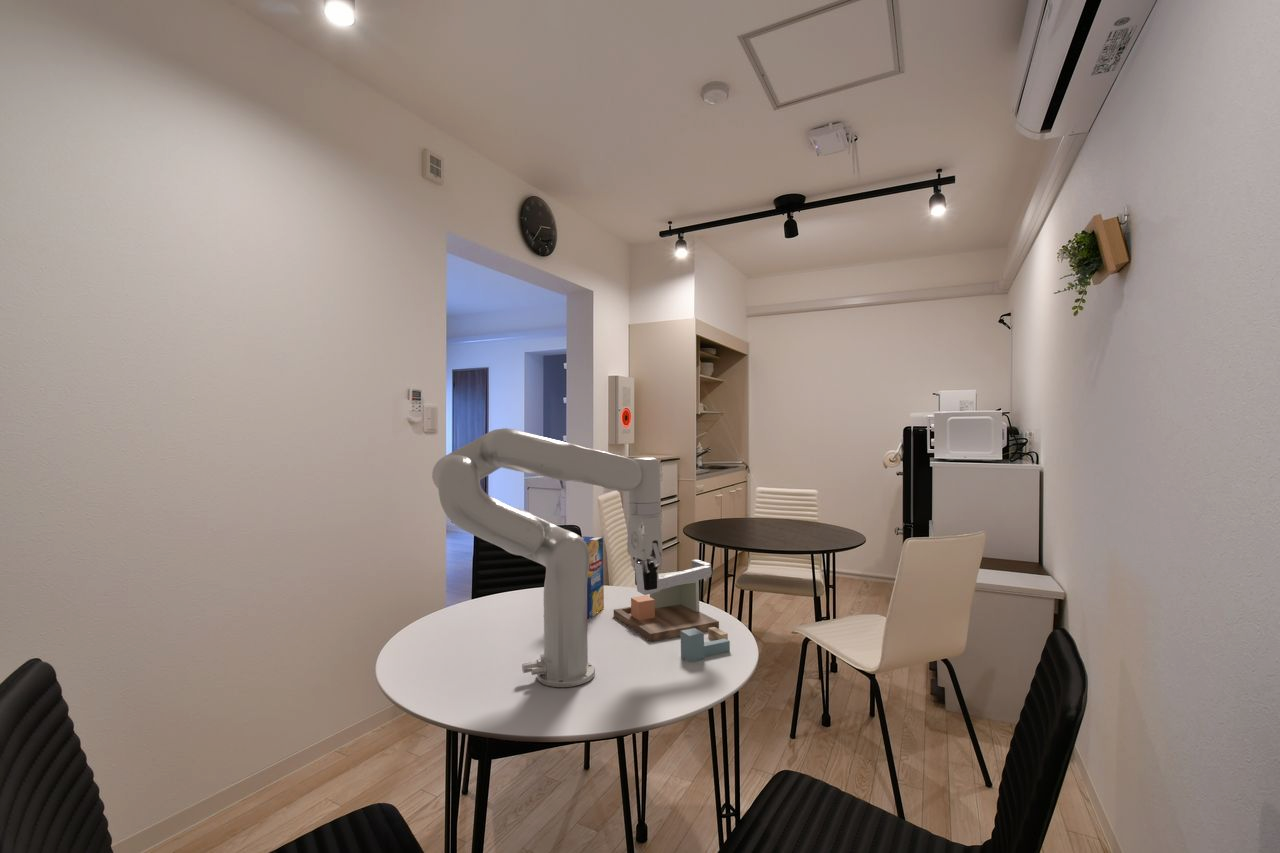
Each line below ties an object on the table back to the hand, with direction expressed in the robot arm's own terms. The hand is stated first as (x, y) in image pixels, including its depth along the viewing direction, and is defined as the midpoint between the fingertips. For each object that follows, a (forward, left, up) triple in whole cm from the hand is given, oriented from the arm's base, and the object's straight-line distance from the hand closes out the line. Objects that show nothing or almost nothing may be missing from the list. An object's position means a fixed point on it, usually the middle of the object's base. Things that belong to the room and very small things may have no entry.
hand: (646, 586), depth 132 cm
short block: (+22, +3, -17) cm, 28 cm away
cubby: (+22, +25, -15) cm, 36 cm away
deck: (+17, +22, -17) cm, 32 cm away
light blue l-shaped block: (+14, -4, -17) cm, 22 cm away
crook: (+9, +3, 0) cm, 9 cm away
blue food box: (0, +41, -17) cm, 44 cm away
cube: (+11, +24, -15) cm, 30 cm away
